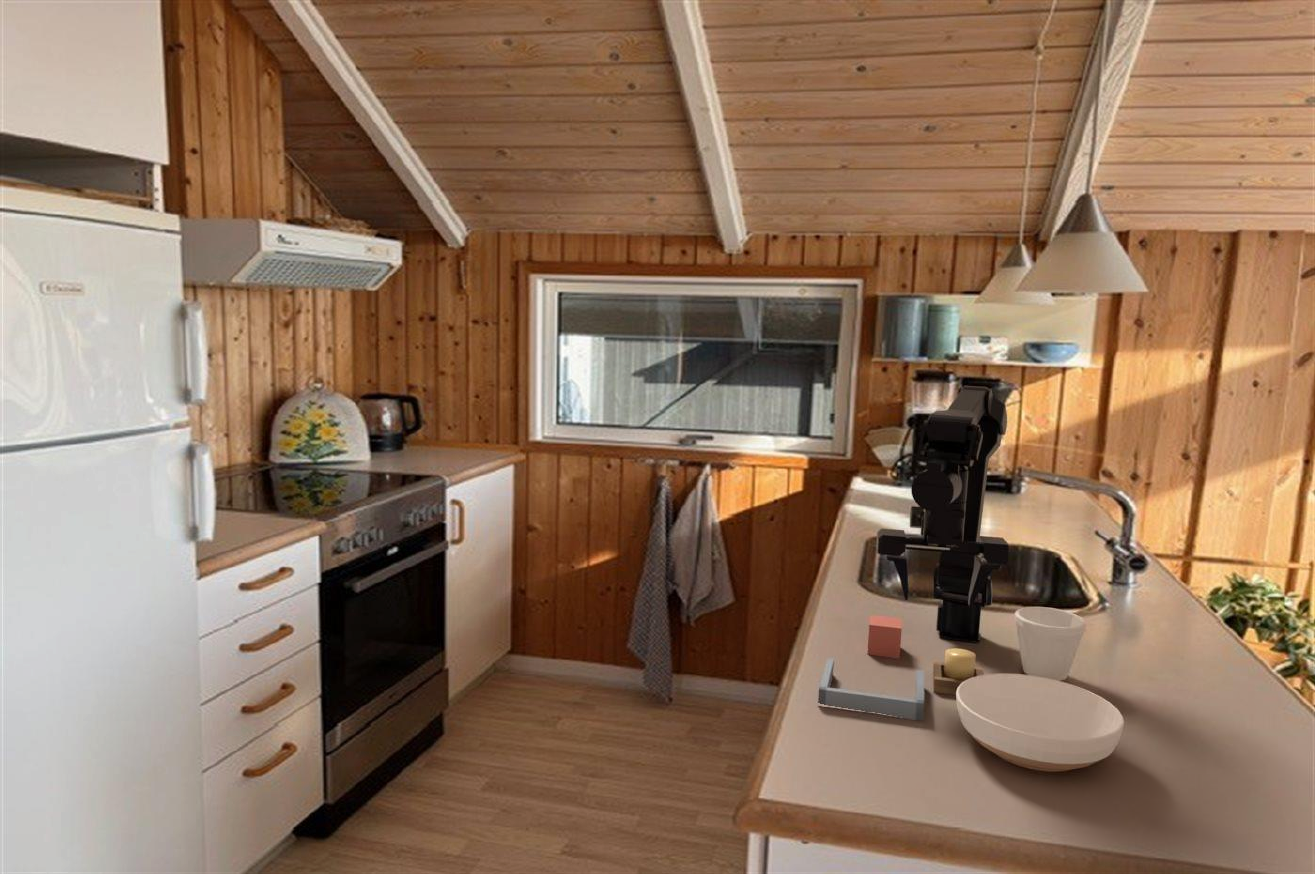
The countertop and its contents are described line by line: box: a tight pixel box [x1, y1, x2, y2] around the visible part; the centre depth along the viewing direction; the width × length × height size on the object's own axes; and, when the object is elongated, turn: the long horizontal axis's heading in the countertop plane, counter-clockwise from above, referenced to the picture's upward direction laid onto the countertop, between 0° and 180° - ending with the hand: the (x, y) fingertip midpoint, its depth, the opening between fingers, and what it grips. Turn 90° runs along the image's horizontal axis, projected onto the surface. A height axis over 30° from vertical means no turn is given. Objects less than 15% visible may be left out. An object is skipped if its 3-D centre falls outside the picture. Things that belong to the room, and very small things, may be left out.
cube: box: [867, 614, 903, 659], centre depth 149 cm, size 5×5×5 cm
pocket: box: [817, 657, 925, 722], centre depth 131 cm, size 14×12×2 cm
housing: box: [932, 661, 985, 696], centre depth 136 cm, size 7×7×2 cm
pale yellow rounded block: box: [944, 647, 976, 680], centre depth 135 cm, size 4×4×3 cm
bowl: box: [955, 672, 1125, 773], centre depth 116 cm, size 20×20×6 cm
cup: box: [1014, 606, 1087, 682], centre depth 140 cm, size 10×10×9 cm
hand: (937, 602), depth 137 cm, fingers open, 9 cm apart
